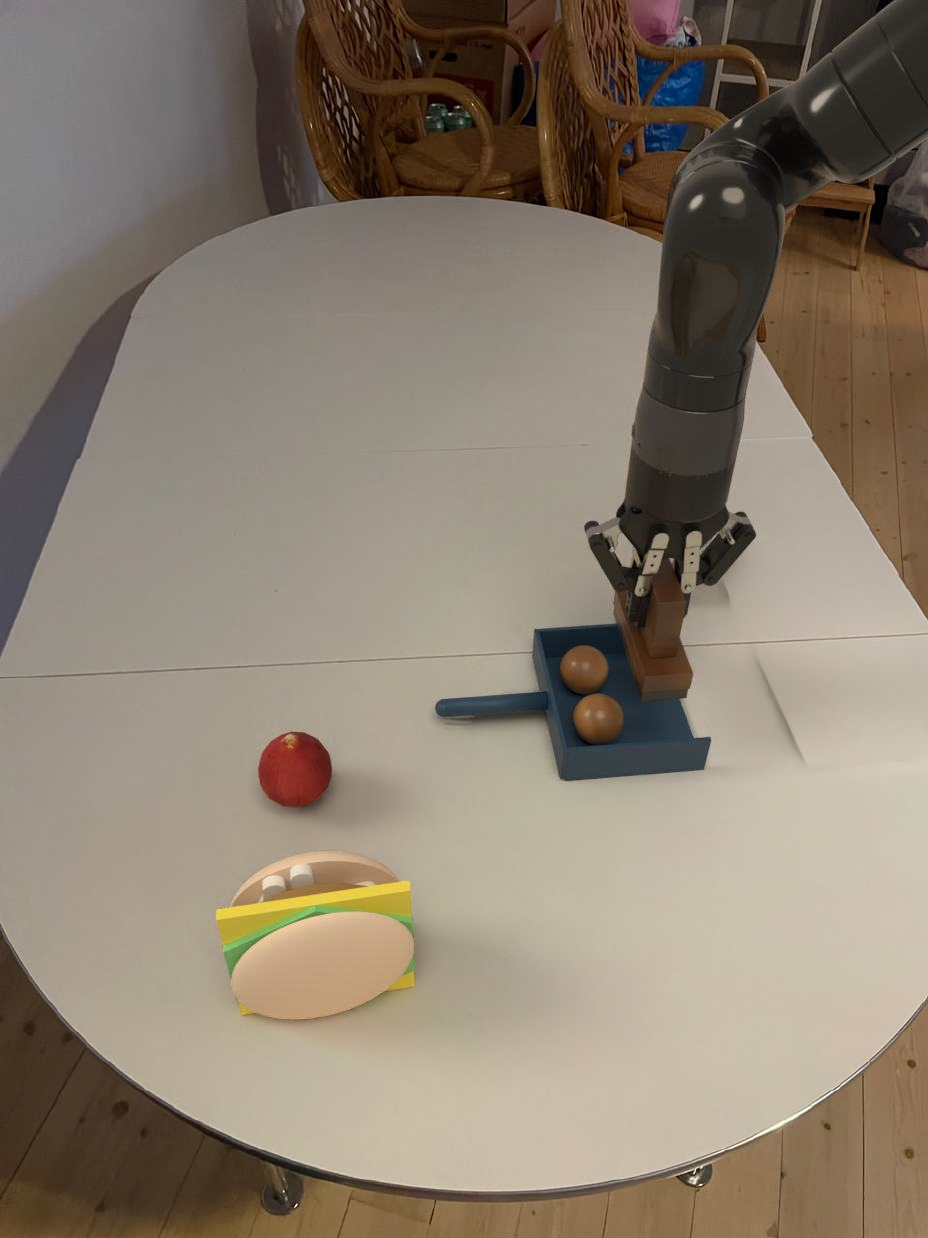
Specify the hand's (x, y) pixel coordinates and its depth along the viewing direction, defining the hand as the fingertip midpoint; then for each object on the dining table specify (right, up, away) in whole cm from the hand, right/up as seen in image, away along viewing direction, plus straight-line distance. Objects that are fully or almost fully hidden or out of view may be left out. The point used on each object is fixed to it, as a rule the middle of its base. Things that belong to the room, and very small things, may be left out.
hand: (654, 619), depth 86 cm
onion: (-29, -15, -1) cm, 33 cm away
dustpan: (-7, -9, +6) cm, 13 cm away
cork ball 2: (-4, -9, +3) cm, 10 cm away
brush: (0, -3, +3) cm, 4 cm away
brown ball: (-5, -5, +7) cm, 10 cm away
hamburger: (-26, -25, -12) cm, 38 cm away
